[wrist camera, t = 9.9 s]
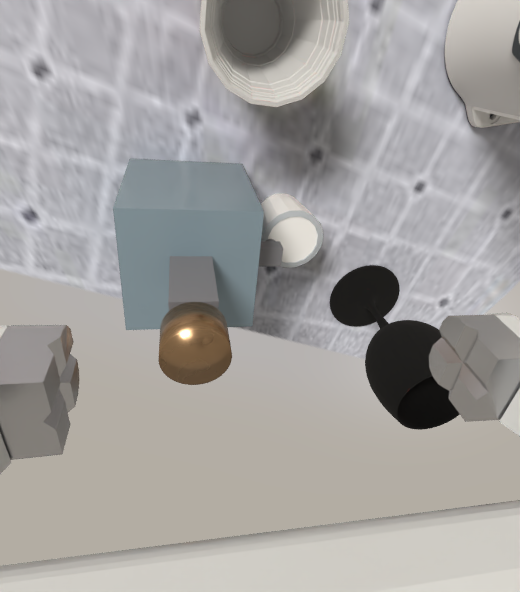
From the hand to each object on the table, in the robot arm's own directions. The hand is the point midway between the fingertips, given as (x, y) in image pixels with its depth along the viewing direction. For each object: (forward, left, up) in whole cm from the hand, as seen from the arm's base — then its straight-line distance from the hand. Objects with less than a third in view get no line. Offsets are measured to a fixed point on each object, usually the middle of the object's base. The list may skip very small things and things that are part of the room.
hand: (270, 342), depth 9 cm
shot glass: (-10, +13, -39) cm, 43 cm away
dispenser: (0, +13, -39) cm, 41 cm away
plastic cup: (-5, -6, -39) cm, 40 cm away
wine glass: (-24, +25, -39) cm, 52 cm away
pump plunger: (+1, +13, -25) cm, 28 cm away
